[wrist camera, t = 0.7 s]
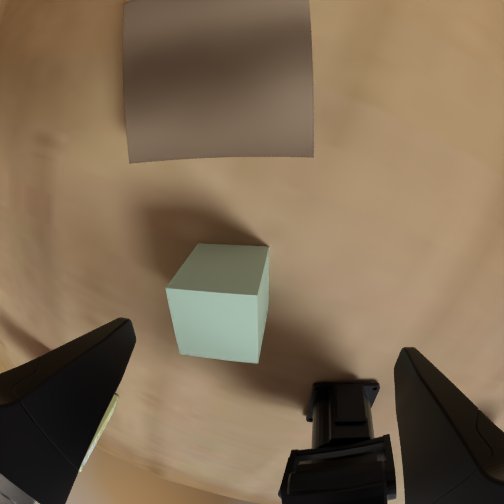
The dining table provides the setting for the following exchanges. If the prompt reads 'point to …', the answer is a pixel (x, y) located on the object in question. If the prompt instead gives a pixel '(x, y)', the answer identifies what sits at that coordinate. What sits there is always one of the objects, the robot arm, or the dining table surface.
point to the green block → (221, 302)
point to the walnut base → (217, 79)
